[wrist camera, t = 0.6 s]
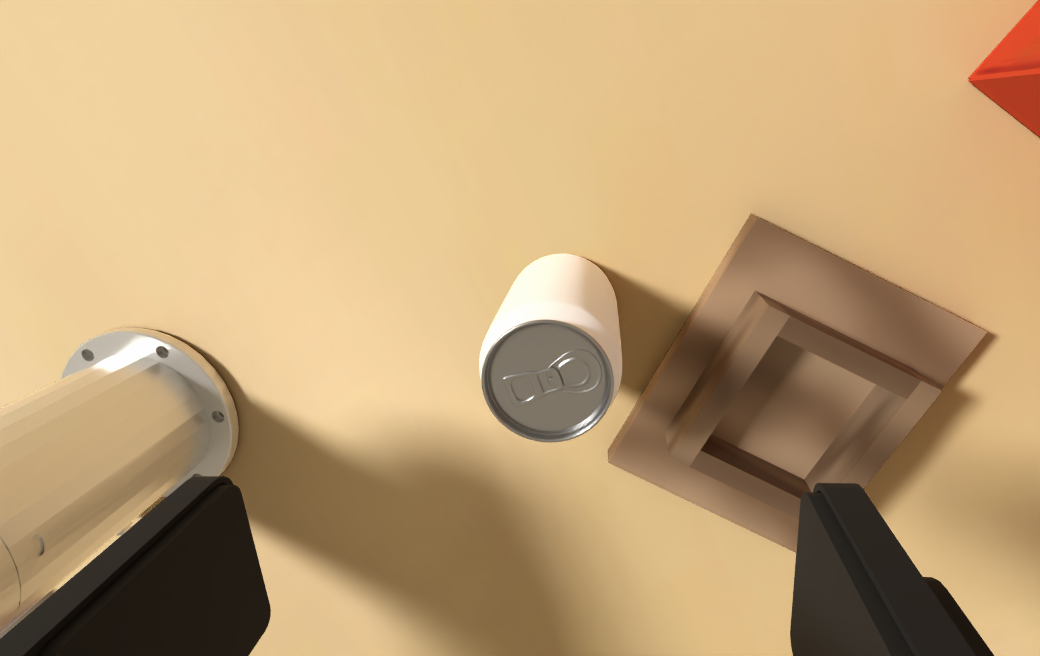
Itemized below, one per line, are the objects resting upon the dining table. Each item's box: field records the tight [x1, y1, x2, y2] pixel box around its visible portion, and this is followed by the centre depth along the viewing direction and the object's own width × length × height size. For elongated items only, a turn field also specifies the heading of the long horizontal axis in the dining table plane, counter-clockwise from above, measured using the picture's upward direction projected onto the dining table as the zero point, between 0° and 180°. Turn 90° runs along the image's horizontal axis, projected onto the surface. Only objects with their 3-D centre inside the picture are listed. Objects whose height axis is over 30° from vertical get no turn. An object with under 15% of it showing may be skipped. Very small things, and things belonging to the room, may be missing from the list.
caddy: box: [608, 214, 987, 552], centre depth 35 cm, size 17×14×4 cm
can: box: [479, 254, 622, 442], centre depth 31 cm, size 6×6×12 cm
